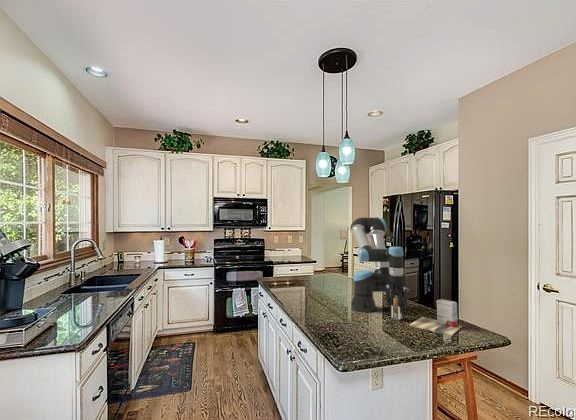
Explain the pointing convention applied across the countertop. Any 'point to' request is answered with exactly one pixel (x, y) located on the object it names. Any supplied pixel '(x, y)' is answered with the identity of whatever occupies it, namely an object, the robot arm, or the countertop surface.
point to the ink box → (447, 312)
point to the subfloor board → (435, 326)
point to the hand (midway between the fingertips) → (396, 317)
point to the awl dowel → (396, 308)
